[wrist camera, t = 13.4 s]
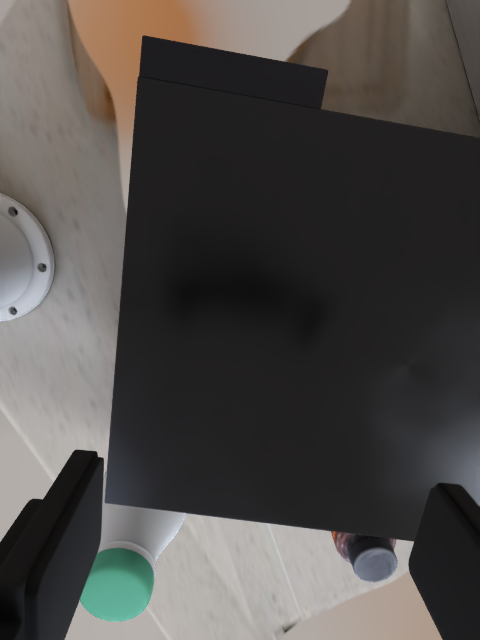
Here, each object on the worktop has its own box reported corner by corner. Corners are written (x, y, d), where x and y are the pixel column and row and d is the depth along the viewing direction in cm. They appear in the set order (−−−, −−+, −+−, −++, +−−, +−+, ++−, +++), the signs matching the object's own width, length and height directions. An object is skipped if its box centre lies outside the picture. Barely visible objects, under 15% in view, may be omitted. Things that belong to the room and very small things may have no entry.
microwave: (193, 117, 35) (142, 9, 16) (511, 174, 37) (813, 137, 18) (164, 367, 42) (104, 503, 23) (435, 406, 43) (594, 564, 24)
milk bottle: (204, 454, 45) (180, 640, 26) (136, 458, 45) (61, 645, 26) (198, 393, 43) (168, 544, 23) (128, 396, 43) (39, 551, 23)
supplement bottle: (307, 476, 46) (329, 560, 35) (350, 449, 45) (387, 527, 34) (335, 510, 47) (364, 601, 36) (377, 485, 46) (421, 570, 35)
